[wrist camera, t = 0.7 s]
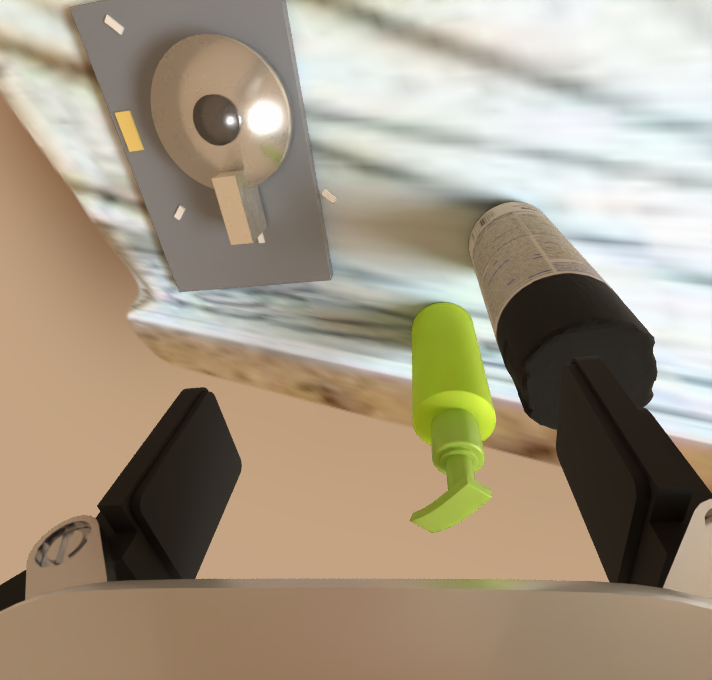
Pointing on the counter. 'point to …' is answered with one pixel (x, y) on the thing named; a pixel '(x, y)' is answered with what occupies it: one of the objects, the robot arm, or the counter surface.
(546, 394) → the spray can
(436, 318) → the soap dispenser
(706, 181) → the counter surface
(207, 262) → the board
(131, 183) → the counter surface
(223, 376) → the counter surface
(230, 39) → the dial
